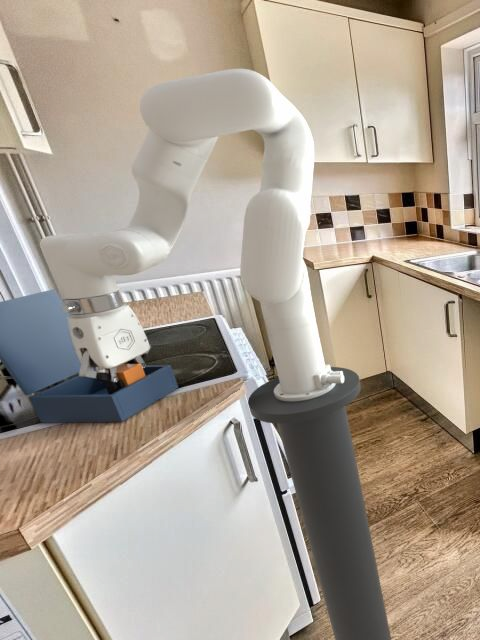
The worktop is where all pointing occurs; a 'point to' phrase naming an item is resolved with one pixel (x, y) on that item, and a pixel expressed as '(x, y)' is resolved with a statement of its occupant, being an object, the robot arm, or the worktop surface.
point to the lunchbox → (102, 398)
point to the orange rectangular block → (129, 373)
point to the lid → (36, 341)
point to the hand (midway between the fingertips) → (131, 392)
